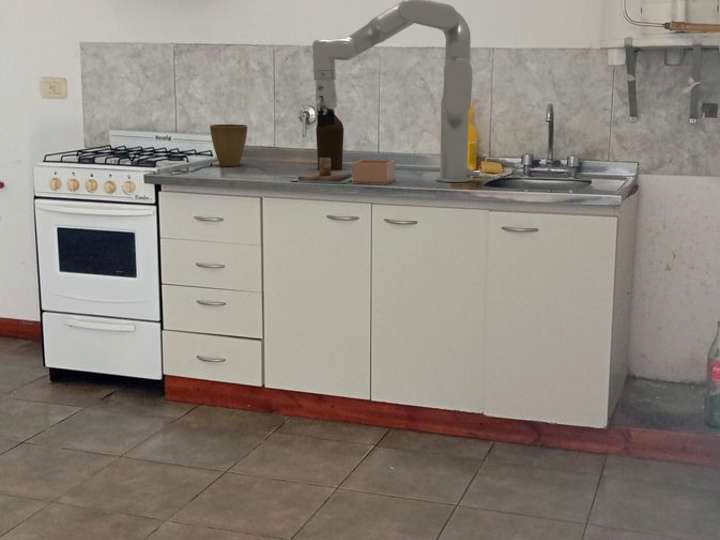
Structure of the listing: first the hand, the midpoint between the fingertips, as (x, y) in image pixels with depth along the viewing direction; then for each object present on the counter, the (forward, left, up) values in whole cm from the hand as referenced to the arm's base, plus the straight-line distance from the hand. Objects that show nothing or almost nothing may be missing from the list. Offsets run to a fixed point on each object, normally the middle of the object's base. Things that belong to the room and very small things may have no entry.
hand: (326, 125), depth 367 cm
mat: (+1, 0, -19) cm, 19 cm away
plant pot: (+52, -36, -19) cm, 66 cm away
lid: (+1, 0, -19) cm, 19 cm away
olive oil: (+10, -35, -19) cm, 41 cm away
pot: (-17, +1, -19) cm, 26 cm away
